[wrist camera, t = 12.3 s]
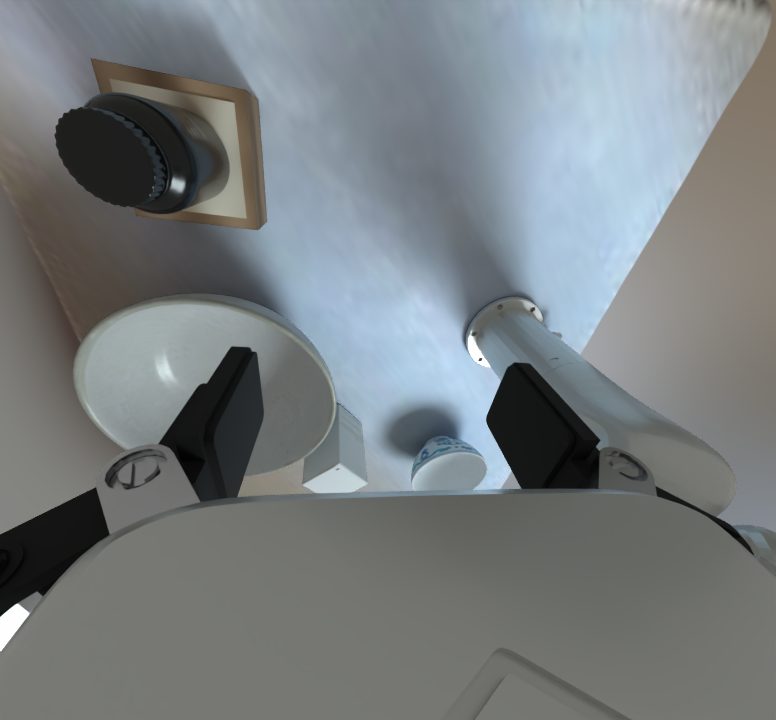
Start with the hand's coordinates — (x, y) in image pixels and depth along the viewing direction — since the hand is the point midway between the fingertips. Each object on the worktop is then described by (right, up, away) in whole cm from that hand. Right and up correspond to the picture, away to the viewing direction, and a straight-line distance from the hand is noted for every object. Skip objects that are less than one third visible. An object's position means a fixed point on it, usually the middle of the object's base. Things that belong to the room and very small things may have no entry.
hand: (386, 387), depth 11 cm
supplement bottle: (-18, +19, +16) cm, 30 cm away
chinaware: (+11, -17, +52) cm, 56 cm away
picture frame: (-19, +22, +20) cm, 35 cm away
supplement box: (-10, -11, +44) cm, 46 cm away
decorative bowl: (-21, +2, +33) cm, 39 cm away
